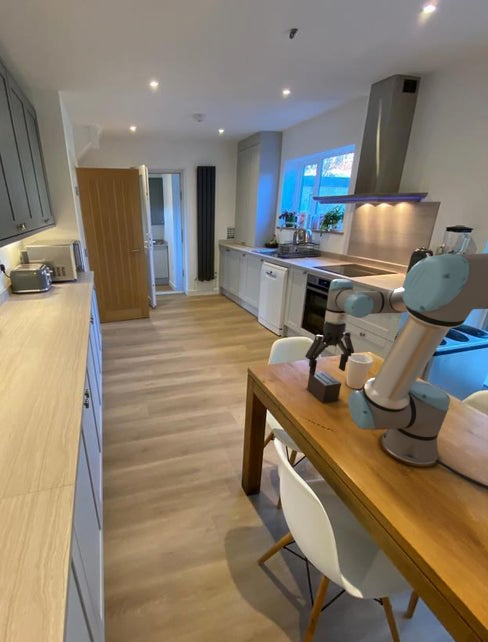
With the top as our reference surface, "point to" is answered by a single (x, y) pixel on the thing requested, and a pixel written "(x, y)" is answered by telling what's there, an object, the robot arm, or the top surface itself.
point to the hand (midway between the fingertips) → (327, 372)
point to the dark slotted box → (324, 386)
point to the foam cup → (358, 370)
